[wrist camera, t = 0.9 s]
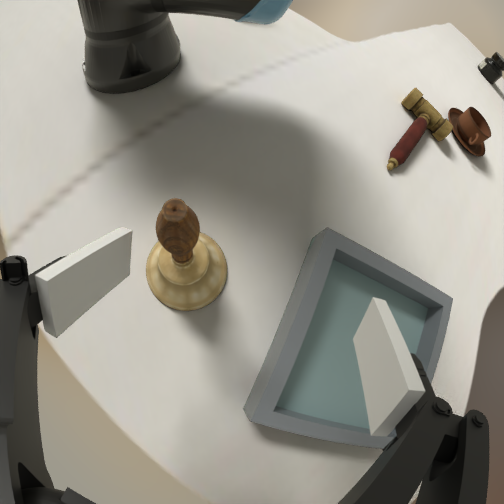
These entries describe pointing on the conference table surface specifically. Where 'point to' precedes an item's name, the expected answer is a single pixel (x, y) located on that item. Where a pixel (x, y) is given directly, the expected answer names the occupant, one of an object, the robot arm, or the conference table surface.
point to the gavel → (418, 127)
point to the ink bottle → (492, 68)
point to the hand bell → (184, 260)
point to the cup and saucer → (470, 129)
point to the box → (340, 341)
